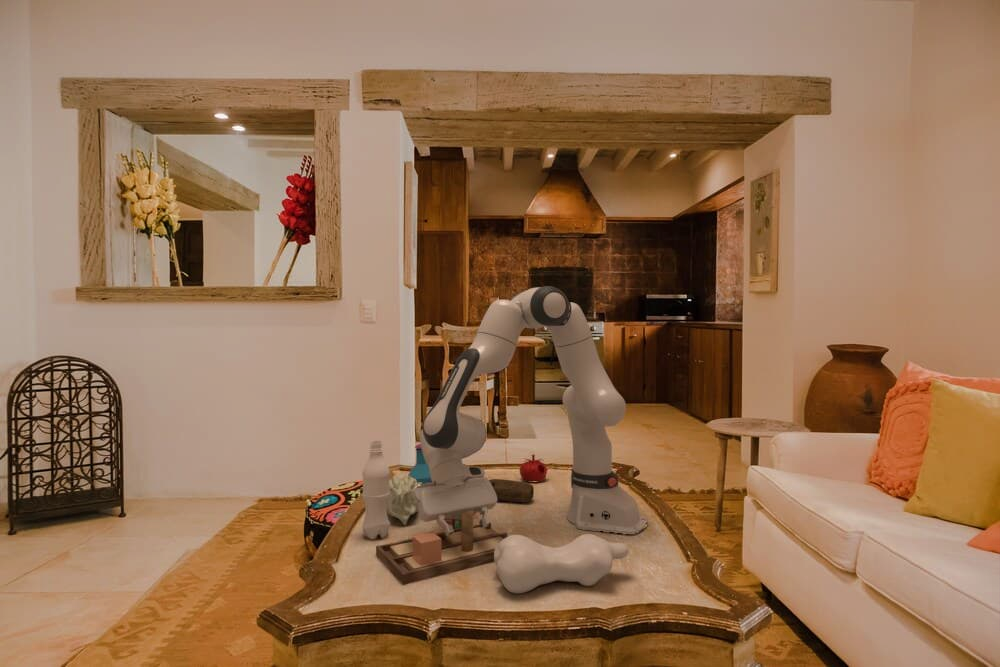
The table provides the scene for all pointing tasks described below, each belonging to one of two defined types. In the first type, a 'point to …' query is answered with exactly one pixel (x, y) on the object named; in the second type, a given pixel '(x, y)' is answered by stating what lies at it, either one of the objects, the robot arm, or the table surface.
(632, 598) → the table surface
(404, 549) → the broken strip
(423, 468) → the perfume bottle
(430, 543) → the terracotta cube
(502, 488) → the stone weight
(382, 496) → the water bottle
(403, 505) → the wavy plaster lump
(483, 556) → the board
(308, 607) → the table surface
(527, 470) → the pomegranate
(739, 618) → the table surface
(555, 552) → the torso sculpture
